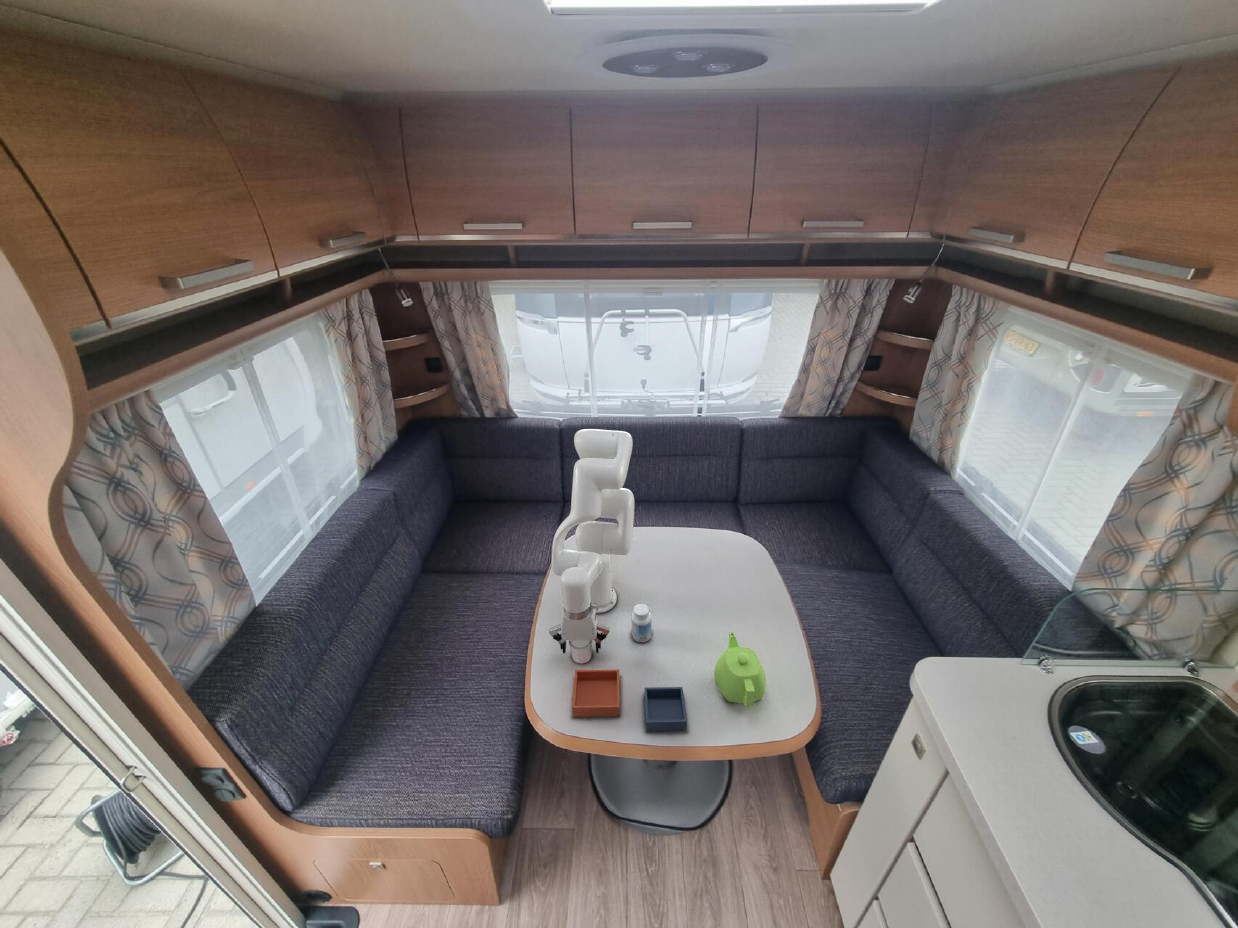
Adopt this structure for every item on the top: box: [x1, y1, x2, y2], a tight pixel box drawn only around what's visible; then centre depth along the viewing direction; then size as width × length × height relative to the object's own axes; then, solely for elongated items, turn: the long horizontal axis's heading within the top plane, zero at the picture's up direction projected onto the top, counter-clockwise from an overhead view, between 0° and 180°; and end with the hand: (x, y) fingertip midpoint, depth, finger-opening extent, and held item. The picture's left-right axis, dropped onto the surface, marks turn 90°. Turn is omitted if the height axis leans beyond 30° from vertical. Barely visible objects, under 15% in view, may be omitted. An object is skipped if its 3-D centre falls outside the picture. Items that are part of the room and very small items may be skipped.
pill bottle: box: [631, 603, 652, 643], centre depth 148 cm, size 6×6×11 cm
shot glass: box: [568, 640, 593, 664], centre depth 143 cm, size 7×7×7 cm
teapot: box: [714, 631, 767, 708], centre depth 132 cm, size 20×13×13 cm
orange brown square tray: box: [571, 668, 621, 718], centre depth 132 cm, size 11×12×4 cm
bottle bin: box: [643, 686, 688, 732], centre depth 128 cm, size 10×10×4 cm
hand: (581, 649), depth 143 cm, fingers open, 9 cm apart
